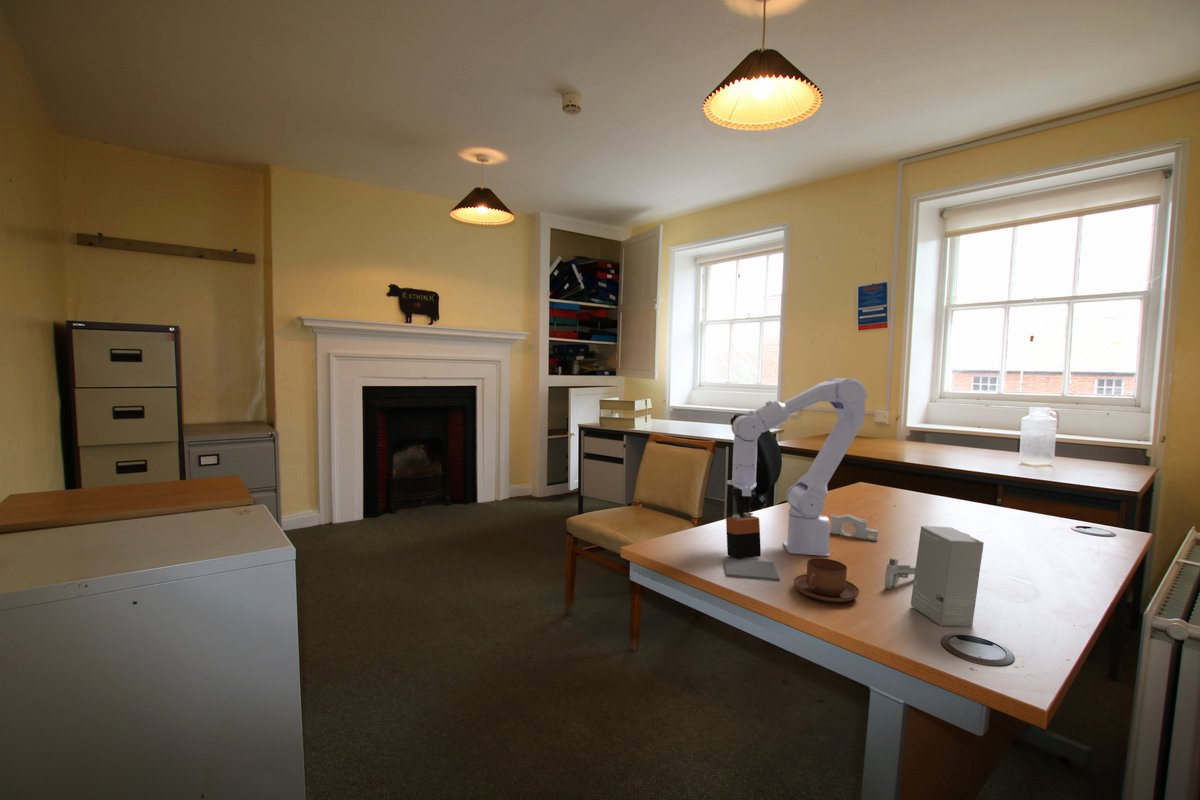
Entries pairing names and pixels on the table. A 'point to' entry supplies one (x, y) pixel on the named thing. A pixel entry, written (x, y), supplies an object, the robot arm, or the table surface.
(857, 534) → the garden wall model
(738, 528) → the battery
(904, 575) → the caliper
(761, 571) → the mat
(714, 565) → the table surface
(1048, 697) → the table surface
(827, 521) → the robot arm
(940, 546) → the skincare box
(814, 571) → the cup and saucer
